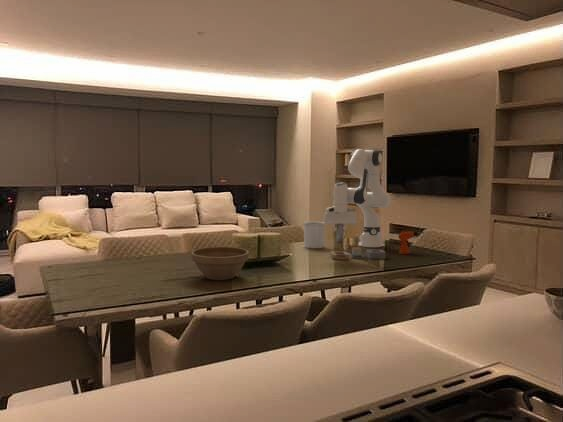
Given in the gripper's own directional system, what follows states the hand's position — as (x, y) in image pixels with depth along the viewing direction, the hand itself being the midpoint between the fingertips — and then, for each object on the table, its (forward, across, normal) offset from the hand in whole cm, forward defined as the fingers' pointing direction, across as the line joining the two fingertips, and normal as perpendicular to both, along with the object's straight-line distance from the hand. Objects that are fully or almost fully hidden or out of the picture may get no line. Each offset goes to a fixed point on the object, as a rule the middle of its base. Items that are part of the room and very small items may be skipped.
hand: (339, 231), depth 282 cm
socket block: (+17, -23, -2) cm, 29 cm away
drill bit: (+7, 0, 0) cm, 7 cm away
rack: (+17, 0, 0) cm, 17 cm away
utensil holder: (+17, +12, -42) cm, 47 cm away
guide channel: (+17, -11, -5) cm, 21 cm away
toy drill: (+17, -50, -18) cm, 56 cm away
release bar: (+17, -11, -2) cm, 20 cm away
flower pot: (+17, +68, +52) cm, 87 cm away
